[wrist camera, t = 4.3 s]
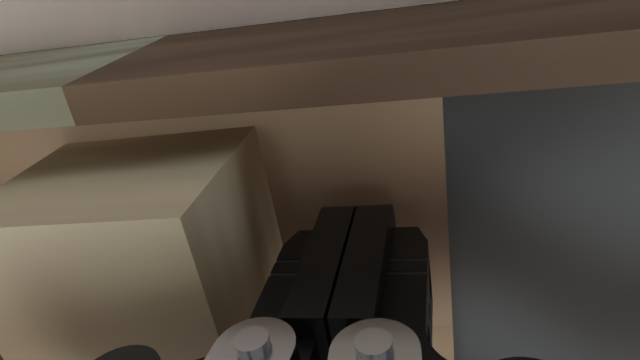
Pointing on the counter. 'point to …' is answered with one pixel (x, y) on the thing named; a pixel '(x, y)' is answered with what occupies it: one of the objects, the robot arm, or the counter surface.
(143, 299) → the maple block
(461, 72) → the tray
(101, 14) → the counter surface
